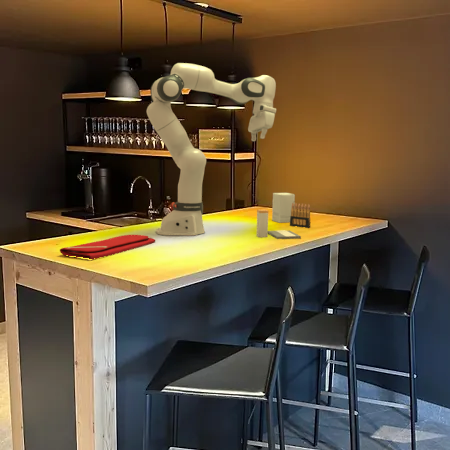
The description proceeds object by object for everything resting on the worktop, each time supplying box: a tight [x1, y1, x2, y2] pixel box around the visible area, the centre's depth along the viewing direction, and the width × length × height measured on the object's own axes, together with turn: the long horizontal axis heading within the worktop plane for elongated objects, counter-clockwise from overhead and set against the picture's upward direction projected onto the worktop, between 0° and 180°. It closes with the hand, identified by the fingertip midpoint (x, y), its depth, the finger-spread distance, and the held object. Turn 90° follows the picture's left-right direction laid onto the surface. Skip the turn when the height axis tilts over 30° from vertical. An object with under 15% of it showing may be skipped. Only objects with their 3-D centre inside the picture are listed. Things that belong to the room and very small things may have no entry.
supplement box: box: [271, 192, 296, 224], centre depth 303 cm, size 9×9×15 cm
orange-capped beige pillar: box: [256, 209, 269, 238], centre depth 258 cm, size 4×4×12 cm
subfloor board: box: [268, 229, 302, 240], centre depth 262 cm, size 11×15×1 cm
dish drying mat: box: [59, 234, 156, 259], centre depth 225 cm, size 16×41×4 cm, turn 153°
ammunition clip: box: [289, 202, 311, 229], centre depth 287 cm, size 11×2×12 cm, turn 57°
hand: (257, 139), depth 266 cm, fingers open, 8 cm apart
